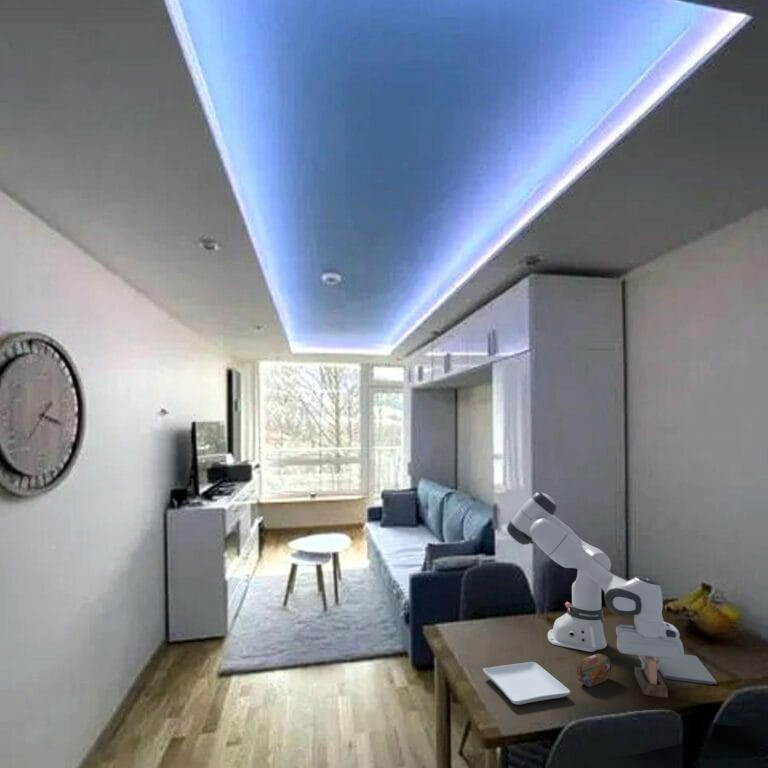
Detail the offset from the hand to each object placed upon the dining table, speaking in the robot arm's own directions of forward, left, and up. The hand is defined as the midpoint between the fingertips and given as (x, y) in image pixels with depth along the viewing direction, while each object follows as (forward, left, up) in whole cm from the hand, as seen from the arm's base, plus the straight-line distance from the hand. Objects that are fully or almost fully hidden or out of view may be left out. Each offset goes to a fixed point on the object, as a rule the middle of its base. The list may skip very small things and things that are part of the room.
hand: (650, 669), depth 169 cm
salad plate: (-41, -13, -6) cm, 44 cm away
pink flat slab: (0, 0, -5) cm, 5 cm away
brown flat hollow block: (0, 0, -6) cm, 6 cm away
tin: (-18, -2, -6) cm, 19 cm away
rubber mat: (+14, +17, -6) cm, 23 cm away
